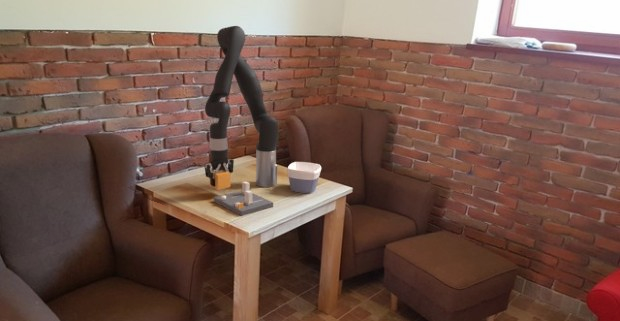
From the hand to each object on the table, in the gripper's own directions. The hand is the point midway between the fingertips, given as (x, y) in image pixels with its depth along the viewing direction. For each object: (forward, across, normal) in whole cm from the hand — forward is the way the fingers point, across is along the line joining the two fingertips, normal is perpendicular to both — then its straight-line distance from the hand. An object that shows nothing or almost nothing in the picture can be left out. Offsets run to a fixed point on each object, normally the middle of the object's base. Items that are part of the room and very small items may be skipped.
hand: (219, 184), depth 201 cm
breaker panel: (+5, -1, +15) cm, 16 cm away
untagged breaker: (+3, -6, +10) cm, 12 cm away
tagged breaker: (+3, 0, +20) cm, 20 cm away
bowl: (+6, -35, +17) cm, 39 cm away
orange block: (+1, 0, 0) cm, 1 cm away
